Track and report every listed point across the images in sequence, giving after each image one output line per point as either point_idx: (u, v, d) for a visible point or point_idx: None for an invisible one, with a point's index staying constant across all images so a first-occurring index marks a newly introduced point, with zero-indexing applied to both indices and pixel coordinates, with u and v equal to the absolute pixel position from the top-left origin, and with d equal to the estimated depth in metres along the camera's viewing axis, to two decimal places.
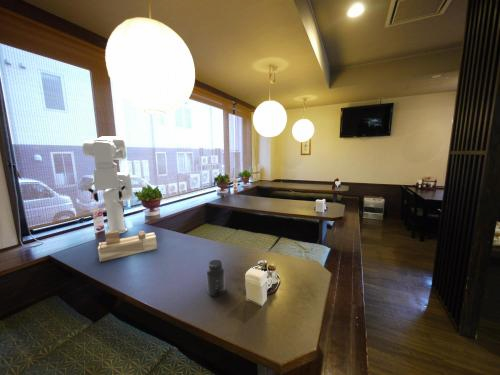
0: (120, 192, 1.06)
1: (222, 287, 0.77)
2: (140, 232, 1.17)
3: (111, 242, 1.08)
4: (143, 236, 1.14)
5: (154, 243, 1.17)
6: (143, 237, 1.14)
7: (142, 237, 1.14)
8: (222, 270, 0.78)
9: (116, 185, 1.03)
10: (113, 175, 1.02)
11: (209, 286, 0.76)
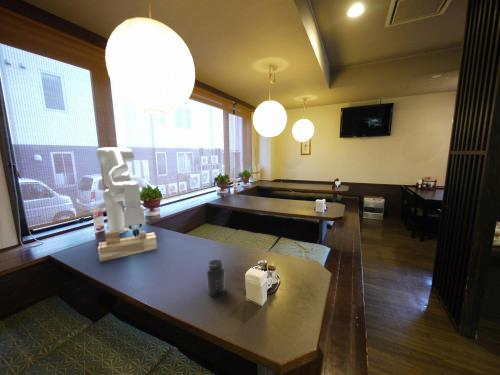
0: (137, 230, 1.15)
1: (222, 287, 0.77)
2: (141, 232, 1.17)
3: (111, 242, 1.08)
4: (144, 236, 1.14)
5: (154, 243, 1.17)
6: (144, 237, 1.14)
7: (143, 237, 1.14)
8: (222, 270, 0.78)
9: (143, 221, 1.14)
10: (140, 212, 1.13)
11: (209, 286, 0.76)
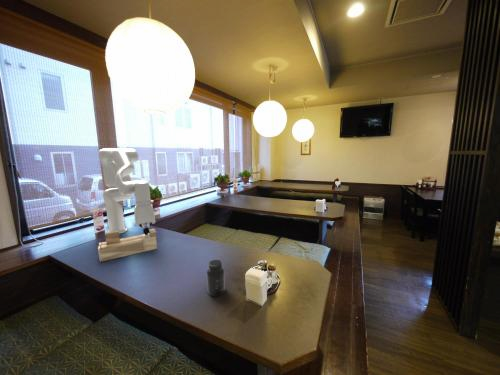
0: (148, 228, 1.17)
1: (222, 287, 0.77)
2: (151, 230, 1.20)
3: (111, 242, 1.08)
4: (154, 234, 1.17)
5: (154, 243, 1.17)
6: (154, 235, 1.17)
7: (153, 235, 1.17)
8: (222, 270, 0.78)
9: (153, 219, 1.17)
10: (150, 211, 1.16)
11: (209, 286, 0.76)
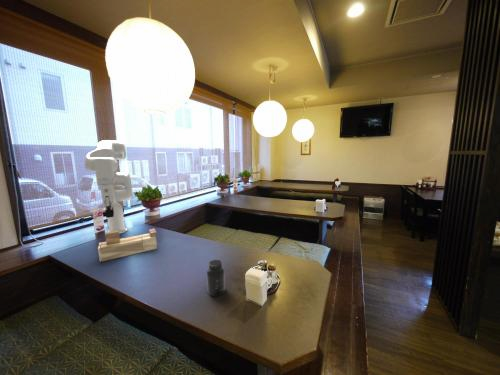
0: (107, 211, 1.04)
1: (222, 287, 0.77)
2: (151, 230, 1.20)
3: (111, 242, 1.08)
4: (154, 234, 1.17)
5: (154, 243, 1.17)
6: (154, 235, 1.17)
7: (153, 235, 1.17)
8: (222, 270, 0.78)
9: None
10: (101, 191, 1.02)
11: (209, 286, 0.76)
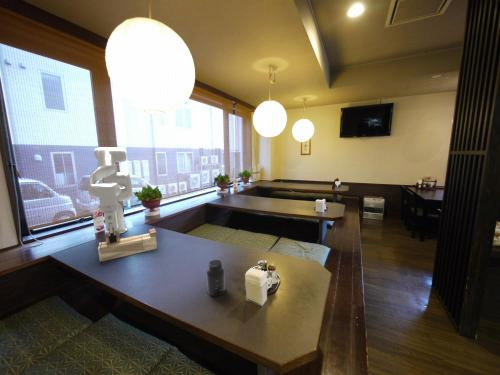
0: (110, 236, 1.07)
1: (222, 287, 0.77)
2: (151, 230, 1.20)
3: None
4: (154, 234, 1.17)
5: (154, 243, 1.17)
6: (154, 235, 1.17)
7: (153, 235, 1.17)
8: (222, 270, 0.78)
9: (106, 228, 1.04)
10: (104, 218, 1.04)
11: (209, 286, 0.76)
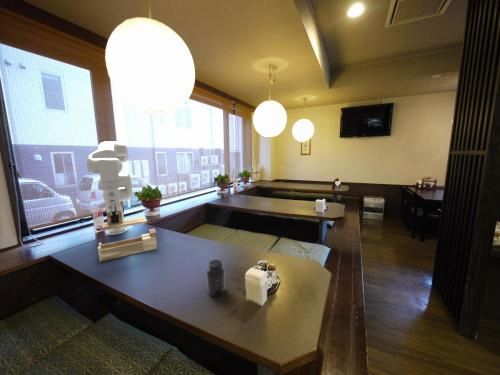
0: None
1: (222, 287, 0.77)
2: (151, 230, 1.20)
3: None
4: (154, 234, 1.17)
5: (154, 243, 1.17)
6: (154, 235, 1.17)
7: (153, 235, 1.17)
8: (222, 270, 0.78)
9: (107, 206, 0.94)
10: (105, 195, 0.94)
11: (209, 286, 0.76)
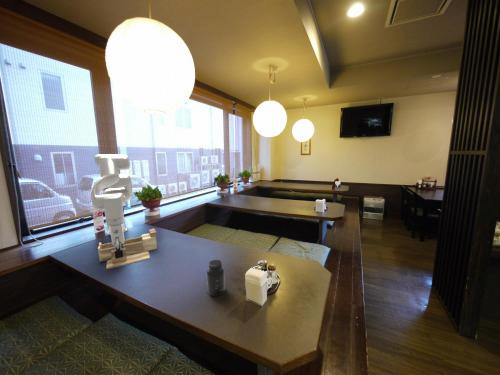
0: (116, 251, 0.97)
1: (222, 287, 0.77)
2: (151, 230, 1.20)
3: (117, 261, 1.01)
4: (154, 234, 1.17)
5: (154, 243, 1.17)
6: (154, 235, 1.17)
7: (153, 235, 1.17)
8: (222, 270, 0.78)
9: (112, 243, 0.97)
10: (110, 232, 0.97)
11: (209, 286, 0.76)
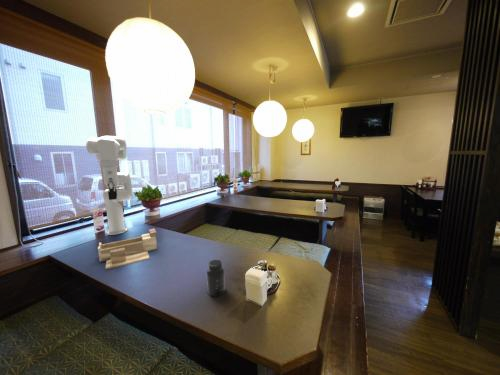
0: (110, 192, 0.99)
1: (222, 287, 0.77)
2: (151, 230, 1.20)
3: (116, 261, 1.01)
4: (154, 234, 1.17)
5: (154, 243, 1.17)
6: (154, 235, 1.17)
7: (153, 235, 1.17)
8: (222, 270, 0.78)
9: (106, 184, 0.99)
10: (104, 173, 0.98)
11: (209, 286, 0.76)
